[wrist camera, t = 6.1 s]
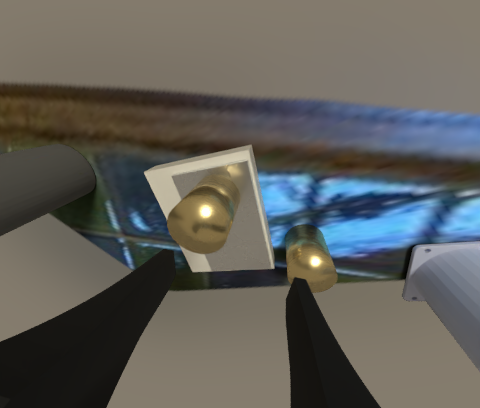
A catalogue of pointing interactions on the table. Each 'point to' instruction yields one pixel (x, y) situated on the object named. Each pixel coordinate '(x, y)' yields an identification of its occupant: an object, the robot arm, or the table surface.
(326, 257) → the cylinder
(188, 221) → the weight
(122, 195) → the table surface
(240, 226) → the scale pan
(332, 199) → the table surface
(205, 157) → the scale
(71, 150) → the bottle
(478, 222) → the table surface
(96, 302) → the robot arm
